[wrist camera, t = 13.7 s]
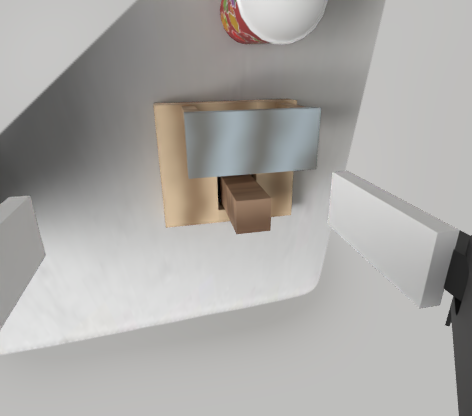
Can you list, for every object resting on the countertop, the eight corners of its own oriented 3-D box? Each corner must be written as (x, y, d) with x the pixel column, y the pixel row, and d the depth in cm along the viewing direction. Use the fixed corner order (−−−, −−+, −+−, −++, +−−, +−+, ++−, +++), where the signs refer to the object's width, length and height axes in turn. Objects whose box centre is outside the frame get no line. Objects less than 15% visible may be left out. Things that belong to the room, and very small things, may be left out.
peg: (218, 171, 48) (236, 201, 37) (245, 169, 48) (271, 198, 38) (219, 198, 49) (236, 234, 38) (246, 195, 50) (270, 230, 39)
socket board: (165, 218, 49) (167, 262, 38) (153, 103, 43) (152, 114, 32) (284, 207, 52) (318, 244, 41) (288, 98, 46) (330, 107, 35)
